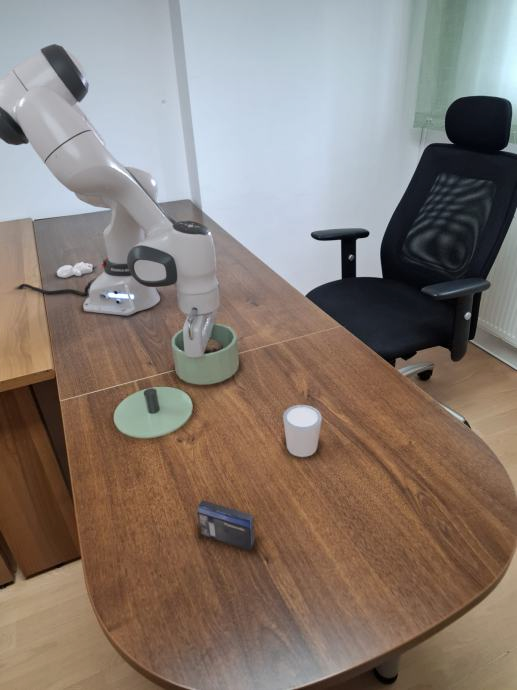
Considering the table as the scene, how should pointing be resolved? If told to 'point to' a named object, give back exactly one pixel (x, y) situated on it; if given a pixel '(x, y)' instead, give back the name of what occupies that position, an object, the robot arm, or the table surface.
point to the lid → (153, 412)
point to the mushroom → (213, 346)
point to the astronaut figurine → (74, 270)
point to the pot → (207, 358)
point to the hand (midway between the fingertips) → (204, 353)
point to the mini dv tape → (226, 524)
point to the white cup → (302, 429)
